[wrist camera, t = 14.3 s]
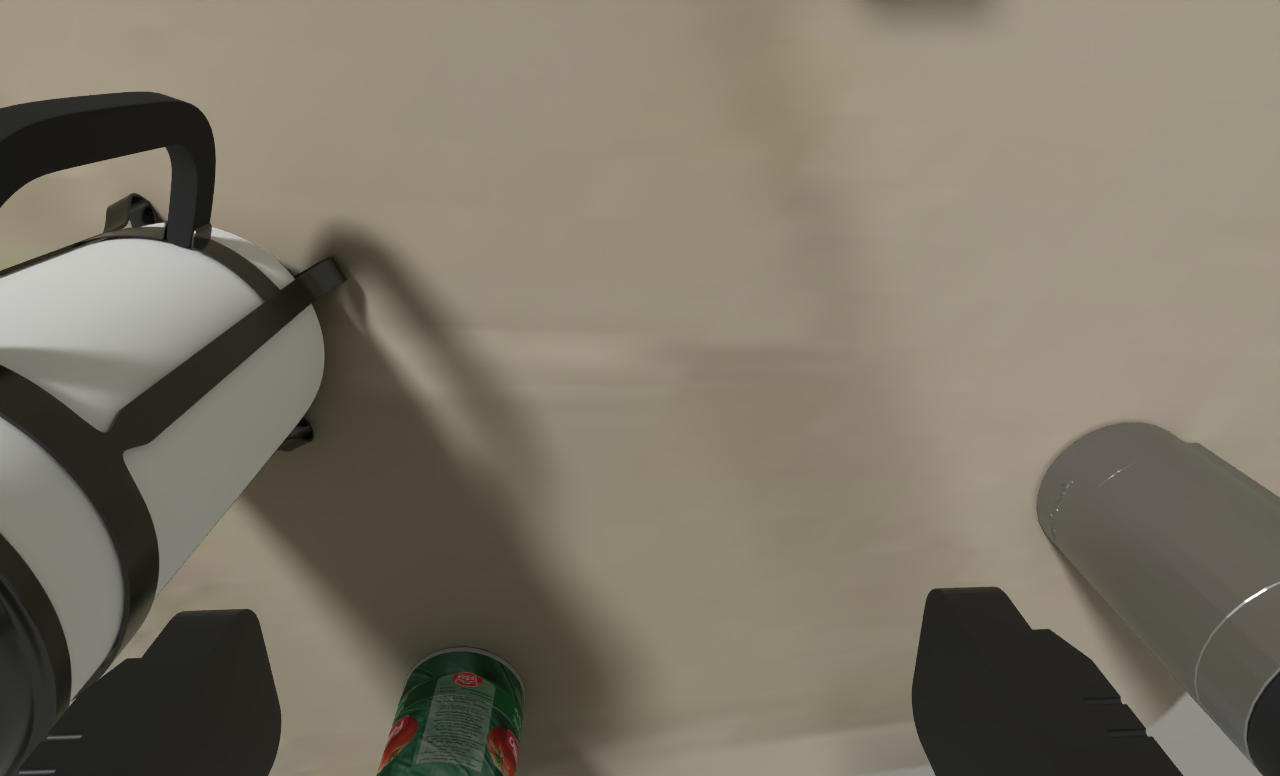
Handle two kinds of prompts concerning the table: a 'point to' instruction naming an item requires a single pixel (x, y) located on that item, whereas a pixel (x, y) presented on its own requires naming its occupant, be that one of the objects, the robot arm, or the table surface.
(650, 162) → the table surface
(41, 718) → the coffee press
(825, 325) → the table surface
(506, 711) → the canned tomato
